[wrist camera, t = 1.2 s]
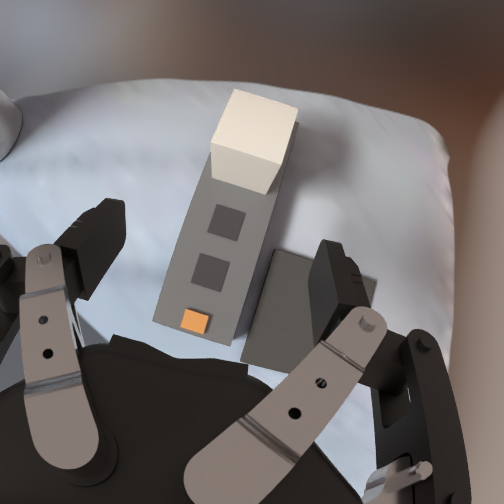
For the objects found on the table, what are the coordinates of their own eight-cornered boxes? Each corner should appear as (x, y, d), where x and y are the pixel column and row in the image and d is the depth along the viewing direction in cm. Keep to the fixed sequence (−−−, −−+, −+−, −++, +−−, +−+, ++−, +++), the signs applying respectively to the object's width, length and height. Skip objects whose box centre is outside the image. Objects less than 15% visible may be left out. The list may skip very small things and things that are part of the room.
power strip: (158, 317, 27) (151, 321, 24) (230, 114, 30) (232, 99, 27) (229, 341, 27) (230, 347, 24) (292, 134, 30) (299, 121, 27)
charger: (212, 184, 28) (210, 142, 19) (229, 141, 29) (234, 88, 20) (262, 200, 28) (281, 164, 20) (276, 156, 29) (298, 108, 20)
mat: (240, 359, 27) (240, 361, 27) (274, 249, 29) (275, 248, 28) (342, 383, 28) (344, 384, 27) (372, 282, 29) (375, 282, 29)
